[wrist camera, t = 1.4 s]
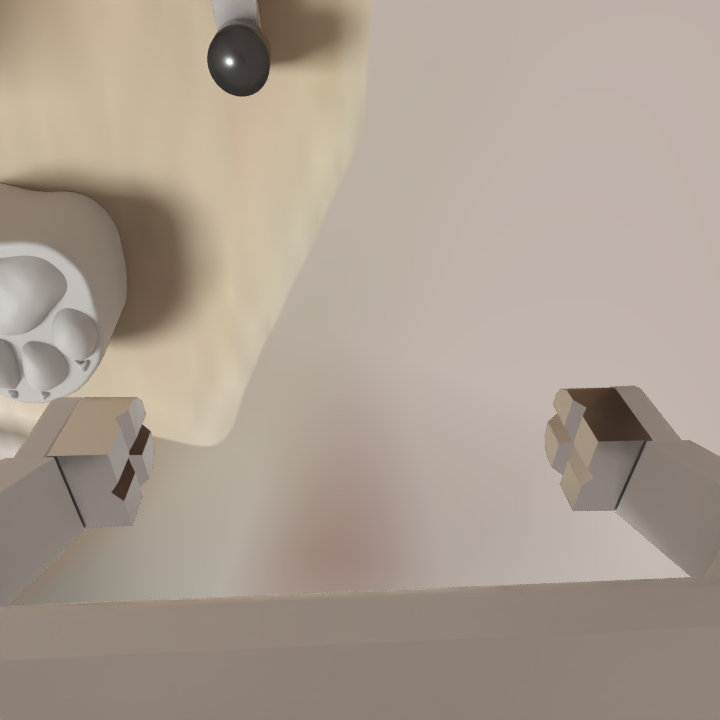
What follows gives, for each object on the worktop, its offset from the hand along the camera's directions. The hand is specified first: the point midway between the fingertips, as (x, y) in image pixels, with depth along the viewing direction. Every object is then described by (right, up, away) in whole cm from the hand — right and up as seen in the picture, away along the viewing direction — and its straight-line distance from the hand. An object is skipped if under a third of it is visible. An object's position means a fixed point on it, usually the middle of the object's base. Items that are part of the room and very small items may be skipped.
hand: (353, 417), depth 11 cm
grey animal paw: (-22, +8, +29) cm, 37 cm away
